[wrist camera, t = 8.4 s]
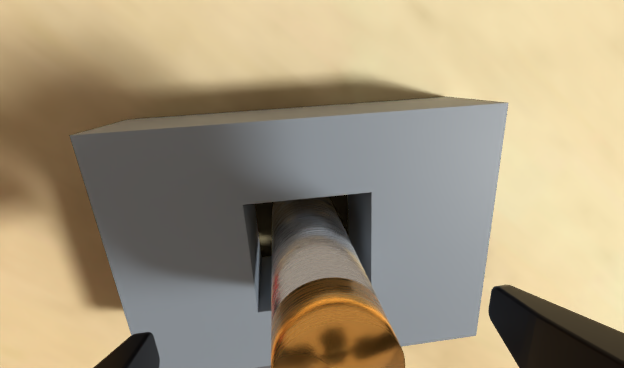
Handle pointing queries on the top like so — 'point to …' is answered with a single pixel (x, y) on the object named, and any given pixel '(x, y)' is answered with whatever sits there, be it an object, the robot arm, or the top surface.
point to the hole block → (291, 186)
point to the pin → (323, 295)
